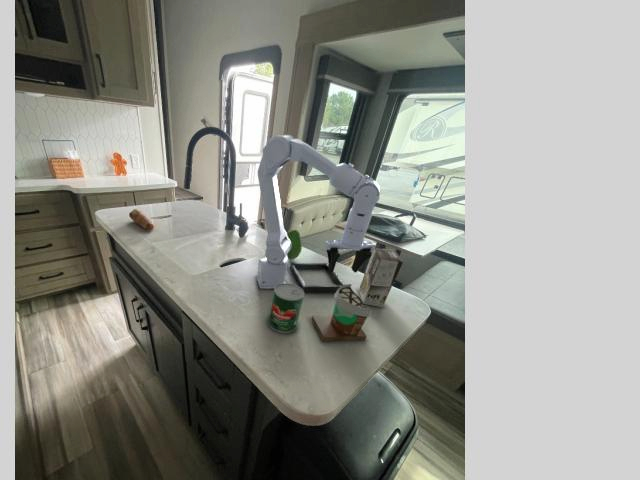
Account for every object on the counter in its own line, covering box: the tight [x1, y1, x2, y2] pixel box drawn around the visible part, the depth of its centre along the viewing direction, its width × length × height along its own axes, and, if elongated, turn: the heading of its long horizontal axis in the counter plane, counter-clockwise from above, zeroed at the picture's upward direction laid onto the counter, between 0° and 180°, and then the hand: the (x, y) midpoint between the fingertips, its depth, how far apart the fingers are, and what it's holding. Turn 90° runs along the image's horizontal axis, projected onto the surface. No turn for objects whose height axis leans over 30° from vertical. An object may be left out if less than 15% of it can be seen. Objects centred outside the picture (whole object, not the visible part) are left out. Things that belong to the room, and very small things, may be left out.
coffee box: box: [358, 247, 404, 308], centre depth 85 cm, size 9×6×16 cm
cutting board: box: [311, 314, 367, 342], centre depth 74 cm, size 12×9×2 cm
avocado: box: [287, 228, 303, 260], centre depth 107 cm, size 8×8×12 cm
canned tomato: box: [268, 282, 305, 334], centre depth 72 cm, size 8×8×11 cm
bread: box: [128, 208, 155, 232], centre depth 129 cm, size 6×19×6 cm, turn 36°
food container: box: [331, 283, 372, 337], centre depth 71 cm, size 12×6×10 cm, turn 5°
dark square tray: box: [289, 262, 346, 294], centre depth 96 cm, size 15×17×2 cm
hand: (342, 270), depth 82 cm, fingers open, 7 cm apart
